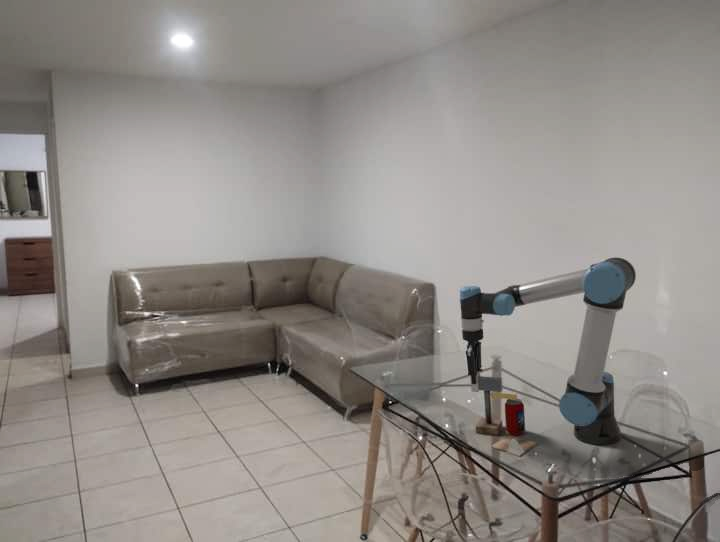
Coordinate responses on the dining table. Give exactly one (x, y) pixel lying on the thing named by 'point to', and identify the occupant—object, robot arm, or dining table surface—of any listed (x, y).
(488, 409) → the t key
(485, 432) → the latch housing
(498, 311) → the robot arm
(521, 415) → the beverage can
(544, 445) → the dining table surface
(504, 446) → the mat
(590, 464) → the dining table surface
